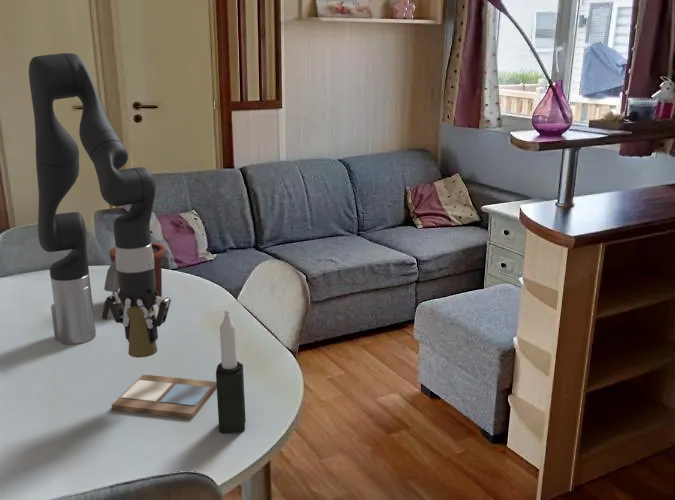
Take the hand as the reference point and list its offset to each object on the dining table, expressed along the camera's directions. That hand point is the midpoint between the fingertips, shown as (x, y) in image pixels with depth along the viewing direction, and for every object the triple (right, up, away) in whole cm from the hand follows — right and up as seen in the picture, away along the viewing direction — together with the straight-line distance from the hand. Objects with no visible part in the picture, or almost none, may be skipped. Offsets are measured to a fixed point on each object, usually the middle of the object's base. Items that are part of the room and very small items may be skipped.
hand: (142, 341), depth 145 cm
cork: (0, -2, +1) cm, 2 cm away
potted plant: (-19, +3, +57) cm, 60 cm away
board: (+4, -13, +3) cm, 14 cm away
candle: (+20, -16, -8) cm, 27 cm away
